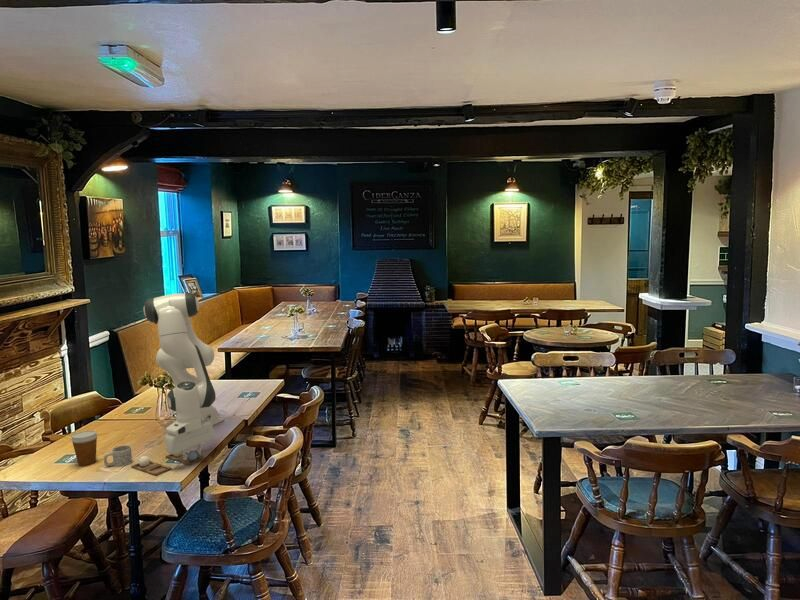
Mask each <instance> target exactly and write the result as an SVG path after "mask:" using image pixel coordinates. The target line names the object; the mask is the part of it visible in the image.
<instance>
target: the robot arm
mask: <svg viewBox="0 0 800 600" xmlns="http://www.w3.org/2000/svg"><path fill="white" fill-rule="evenodd" d="M143 304H144V305H143V315H144V317H145V318H146V320H147V321H149V323H154V325H157V333H158V341H159V345H160V348H159V349H158V350H157V352H156V355H155V361H156V364H157V365H158V367H159V368H160V369H162V370H164V371H165V372H166V374H168V376H170V378H171V379H172V381H173V386H174V388H171V389H170V390H169V391H168V393H167V394H166V397H167V407H168V409H170V410H172V411H173V412H175V413H176V419H175V421H173V423H171V424H170V425H168V426H167V427H165V433H167V434H166V436H165V452H166V453H167V454H169V455H170V454H176V453H178V452H180V453H181V454H182V455H183V459H184V460H188V459H189V455H187V454H186V453H185V452H187V450H188V449H191V448H193V447H196V450H194V451H195V452H196V453H197V456H201V453H202V452H201V451H202V449H203V446H204V445H203V444H204V443H207V442H210V441H213V440H214V438H215V431H214V425H218V424H219V423H221V422H223V421H224V417H223V416H221V415H219V413H218V409H217V408H216V407H215V406H213V404H214V403H215V401H216V398H217V397H216V395H217V394H216V391H215V388H214V386H213V384H212V382H211V379H210V378H211V377H210V376H209V373H208V370H207V367H208V366H211V365H212V363H213V362H214V359H215V352H214V349H213V348H212V346H211V345H209V344H207V343H205V342H203V341H202V340H201V339H200V338H199V337H198V336H197V334H195V331H194V329H193V325H192V320H191V317H195V316H196V315H197V314H199V310H200V301H199V299H198V298H197V296H196V294H194V293H193V292H185V293H181V292H180V293H172V294H167V295H161V296H157V297H150V298H147V299H146V300H145V302H144V303H143ZM187 369H193V370H194V372H195V375H194V374H191V373H190V372H189V371H187Z"/></svg>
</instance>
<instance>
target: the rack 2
mask: <svg viewBox="0 0 800 600" xmlns="http://www.w3.org/2000/svg"><path fill="white" fill-rule="evenodd" d="M185 453H186V454H188V452H187V451H186V452H185ZM165 459H168V460H171V461H174V462H177V463H180V464H184V465H187V466H193V465H196V464H198V463H201V462H203V461H205V460H206V457H203V456H201V455H198V456H197V459H196V460H194V461H189V460H184V459H183V455H181V456H180V457H176V456H174V455H173V454H169V455H168V454H167V455H165Z"/></svg>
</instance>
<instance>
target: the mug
mask: <svg viewBox="0 0 800 600" xmlns="http://www.w3.org/2000/svg"><path fill="white" fill-rule="evenodd" d="M110 456H111V457H112V458H113V459H112V462H110V463H109V462H108V460H107V459H108V457H110ZM132 456H133V455H132V447H131V446H130V445H119V446H115V447H114V448H112V450H111V451H110V452H108V453H106V454H105V455H104V456H103V462H104V463H103V464H104V466H105V467H113V466H114V467H124V466H127V465H130V464H132V463H133V457H132Z"/></svg>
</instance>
